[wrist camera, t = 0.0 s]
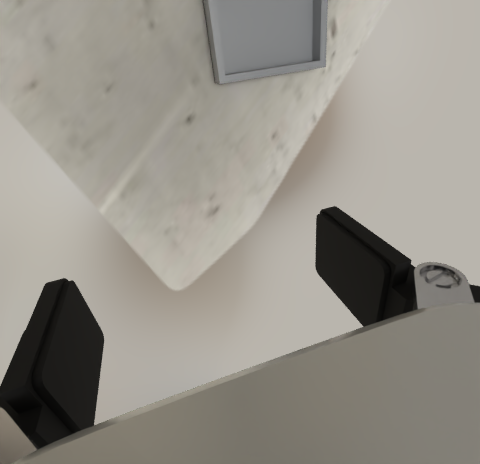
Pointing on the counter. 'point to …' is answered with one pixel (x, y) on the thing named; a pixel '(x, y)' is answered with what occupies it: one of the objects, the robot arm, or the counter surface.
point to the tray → (265, 37)
